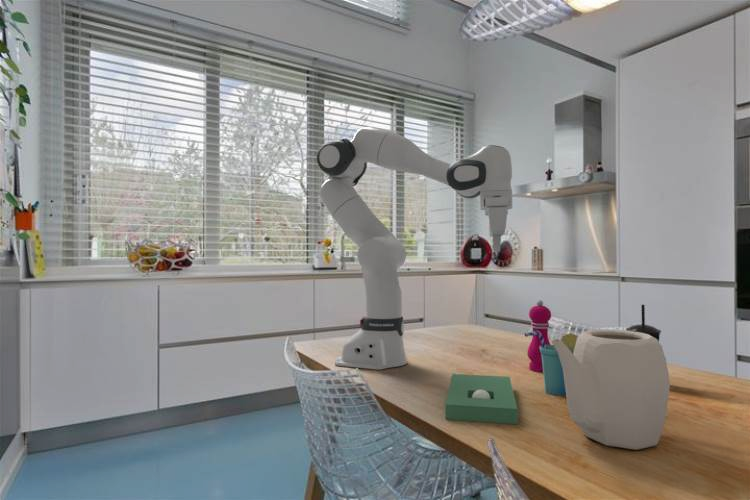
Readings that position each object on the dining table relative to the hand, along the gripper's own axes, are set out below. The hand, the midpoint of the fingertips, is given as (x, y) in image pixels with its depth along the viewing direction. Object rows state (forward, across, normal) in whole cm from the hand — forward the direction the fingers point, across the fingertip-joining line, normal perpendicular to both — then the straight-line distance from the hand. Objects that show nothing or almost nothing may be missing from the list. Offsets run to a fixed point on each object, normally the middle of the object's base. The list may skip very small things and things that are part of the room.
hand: (496, 251), depth 128 cm
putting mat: (+34, +28, -5) cm, 44 cm away
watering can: (+34, +44, +18) cm, 59 cm away
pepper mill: (+34, -5, +12) cm, 37 cm away
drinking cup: (+34, +4, +36) cm, 50 cm away
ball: (+32, +33, -5) cm, 46 cm away
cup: (+34, +17, +12) cm, 40 cm away
